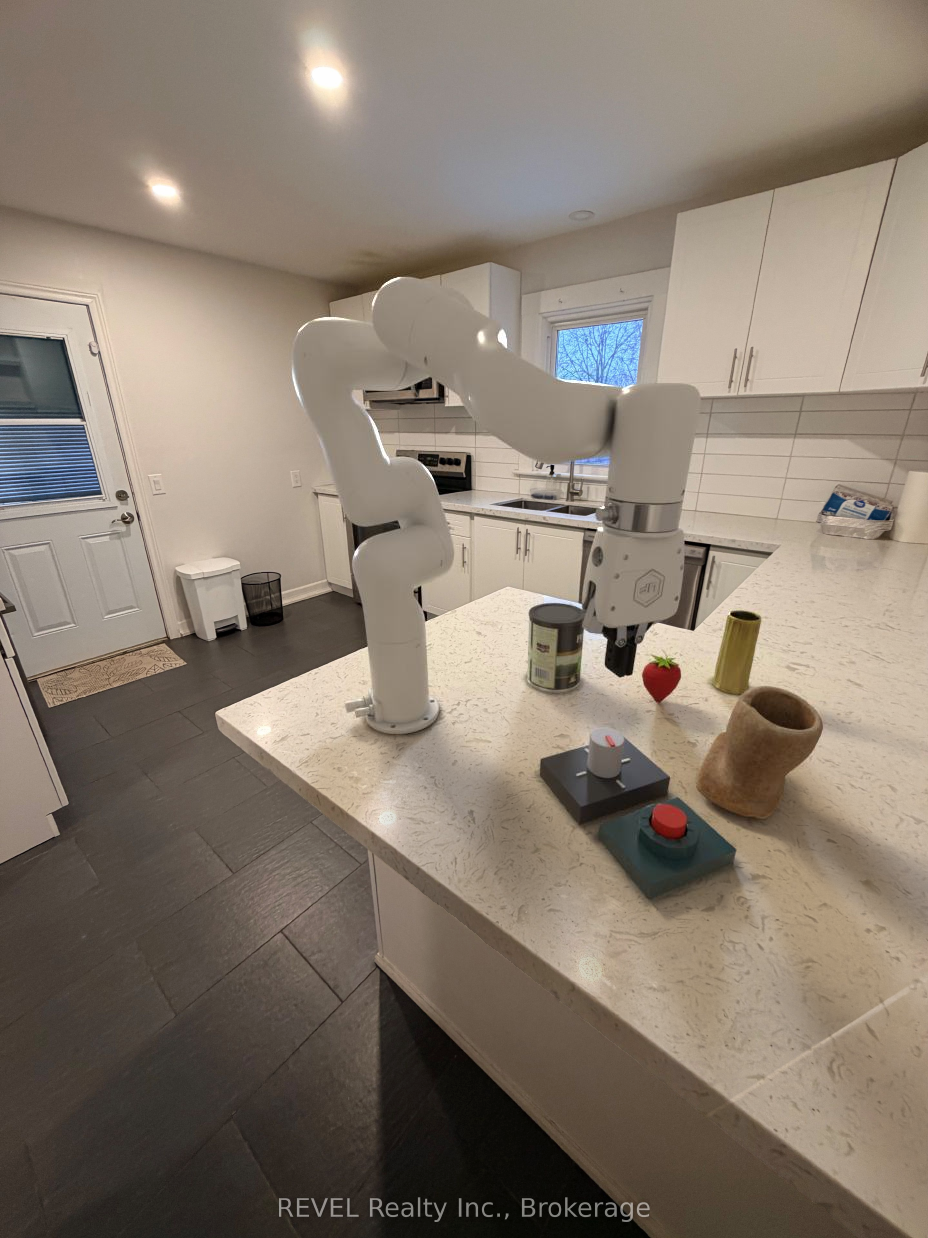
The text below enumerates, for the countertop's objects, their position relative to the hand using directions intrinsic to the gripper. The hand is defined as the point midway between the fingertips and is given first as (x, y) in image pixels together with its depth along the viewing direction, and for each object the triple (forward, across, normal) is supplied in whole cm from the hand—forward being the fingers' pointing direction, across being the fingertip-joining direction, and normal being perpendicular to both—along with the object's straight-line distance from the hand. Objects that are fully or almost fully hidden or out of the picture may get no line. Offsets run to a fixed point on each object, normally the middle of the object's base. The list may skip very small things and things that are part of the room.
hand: (617, 670), depth 58 cm
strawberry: (+20, +24, +16) cm, 35 cm away
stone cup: (+19, +20, -6) cm, 28 cm away
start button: (+16, +2, -10) cm, 19 cm away
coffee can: (+20, +11, +30) cm, 38 cm away
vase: (+20, +40, +16) cm, 47 cm away
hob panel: (+20, +2, +2) cm, 20 cm away
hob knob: (+17, +2, +2) cm, 17 cm away
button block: (+19, +2, -10) cm, 22 cm away
